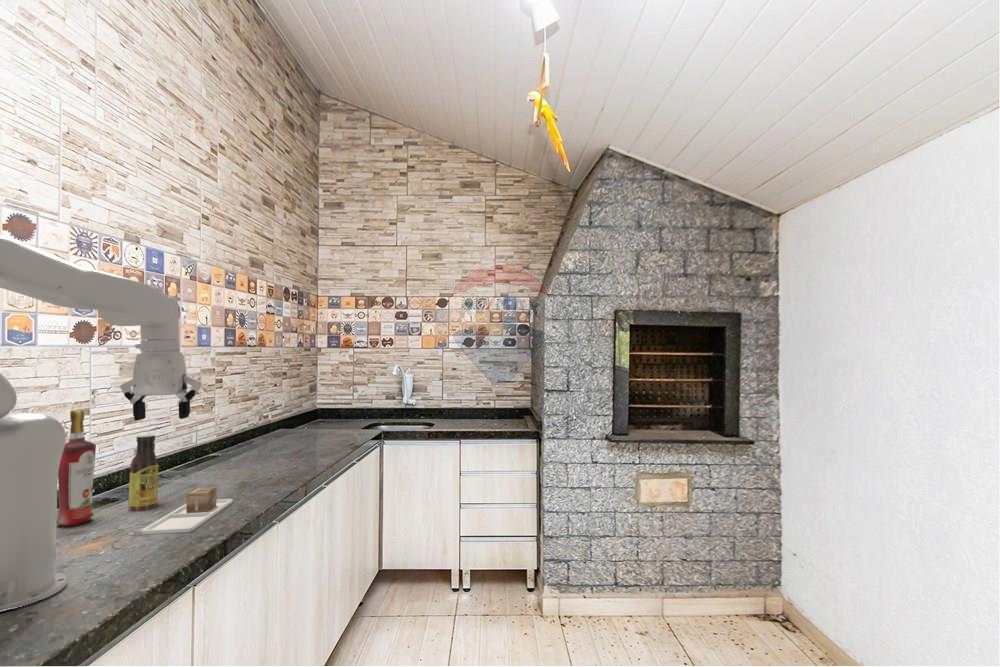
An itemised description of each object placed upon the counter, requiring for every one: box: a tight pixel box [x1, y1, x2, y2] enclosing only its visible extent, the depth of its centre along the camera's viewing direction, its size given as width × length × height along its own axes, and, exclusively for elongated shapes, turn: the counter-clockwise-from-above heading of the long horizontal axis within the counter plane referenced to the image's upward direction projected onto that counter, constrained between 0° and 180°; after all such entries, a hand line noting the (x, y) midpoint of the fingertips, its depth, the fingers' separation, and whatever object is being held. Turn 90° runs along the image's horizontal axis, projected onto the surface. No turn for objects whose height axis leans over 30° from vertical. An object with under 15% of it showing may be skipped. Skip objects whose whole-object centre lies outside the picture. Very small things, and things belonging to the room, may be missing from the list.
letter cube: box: [185, 486, 218, 513], centre depth 124 cm, size 5×5×5 cm
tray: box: [138, 498, 234, 536], centre depth 119 cm, size 22×11×2 cm, turn 7°
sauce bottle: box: [127, 434, 160, 512], centre depth 127 cm, size 7×6×20 cm
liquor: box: [57, 409, 97, 527], centre depth 118 cm, size 7×7×28 cm
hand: (162, 418), depth 113 cm, fingers open, 9 cm apart
